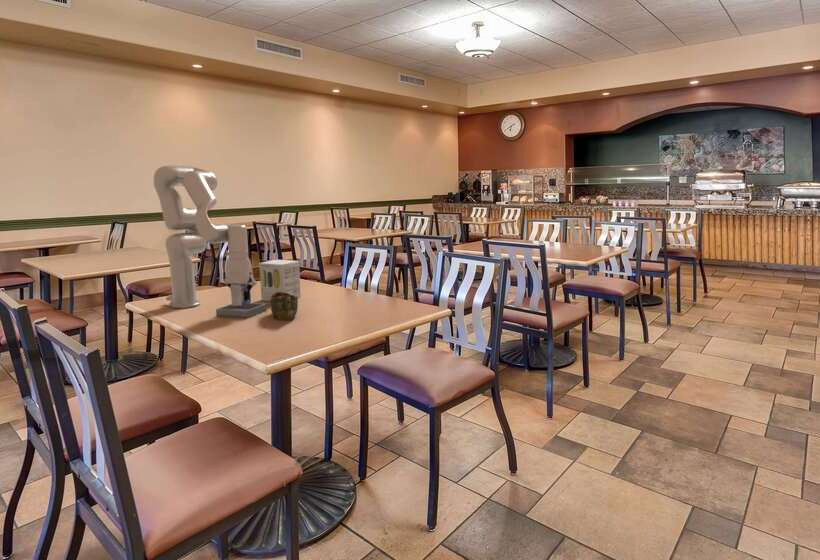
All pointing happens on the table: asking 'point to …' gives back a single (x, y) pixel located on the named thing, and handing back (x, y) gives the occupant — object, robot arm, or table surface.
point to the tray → (241, 310)
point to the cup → (284, 305)
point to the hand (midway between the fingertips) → (241, 299)
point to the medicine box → (238, 295)
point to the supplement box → (279, 278)
